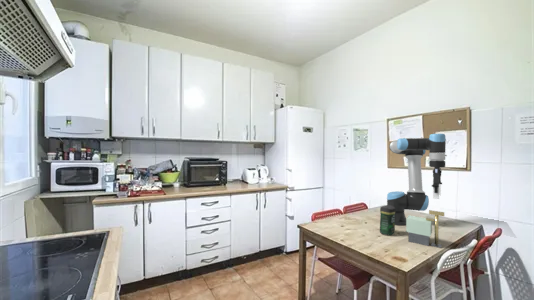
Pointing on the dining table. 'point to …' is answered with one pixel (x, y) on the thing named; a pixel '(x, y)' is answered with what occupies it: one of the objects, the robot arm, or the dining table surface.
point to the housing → (421, 239)
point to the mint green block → (418, 225)
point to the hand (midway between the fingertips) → (436, 196)
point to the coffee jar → (387, 220)
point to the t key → (435, 222)
